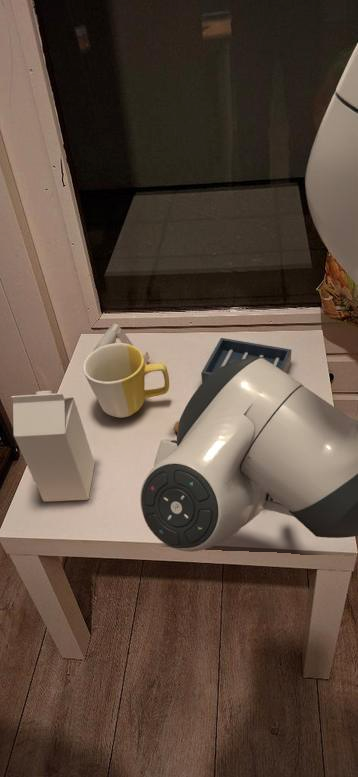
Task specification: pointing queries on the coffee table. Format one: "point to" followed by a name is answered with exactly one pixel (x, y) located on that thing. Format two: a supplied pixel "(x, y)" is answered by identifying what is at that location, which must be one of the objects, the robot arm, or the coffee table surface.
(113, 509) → the coffee table surface
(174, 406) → the coffee table surface
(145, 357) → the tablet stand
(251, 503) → the robot arm
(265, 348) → the drying rack
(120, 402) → the mug
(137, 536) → the coffee table surface
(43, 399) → the milk carton
